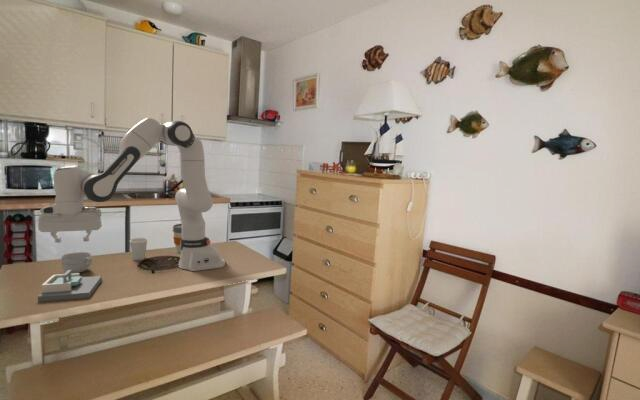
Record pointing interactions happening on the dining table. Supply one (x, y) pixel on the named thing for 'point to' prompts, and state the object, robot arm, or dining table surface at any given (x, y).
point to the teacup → (76, 262)
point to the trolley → (69, 279)
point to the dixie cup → (138, 248)
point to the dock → (68, 288)
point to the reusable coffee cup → (177, 236)
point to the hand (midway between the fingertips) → (72, 241)
